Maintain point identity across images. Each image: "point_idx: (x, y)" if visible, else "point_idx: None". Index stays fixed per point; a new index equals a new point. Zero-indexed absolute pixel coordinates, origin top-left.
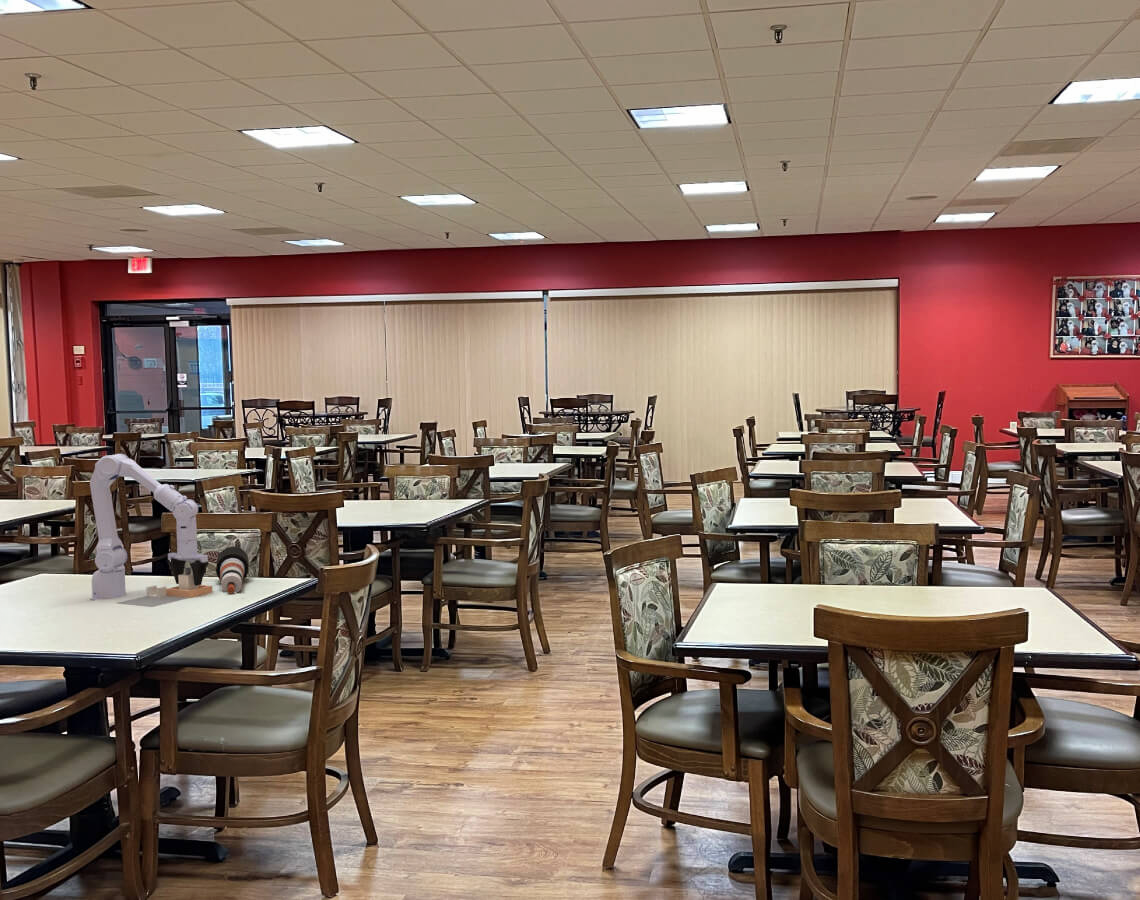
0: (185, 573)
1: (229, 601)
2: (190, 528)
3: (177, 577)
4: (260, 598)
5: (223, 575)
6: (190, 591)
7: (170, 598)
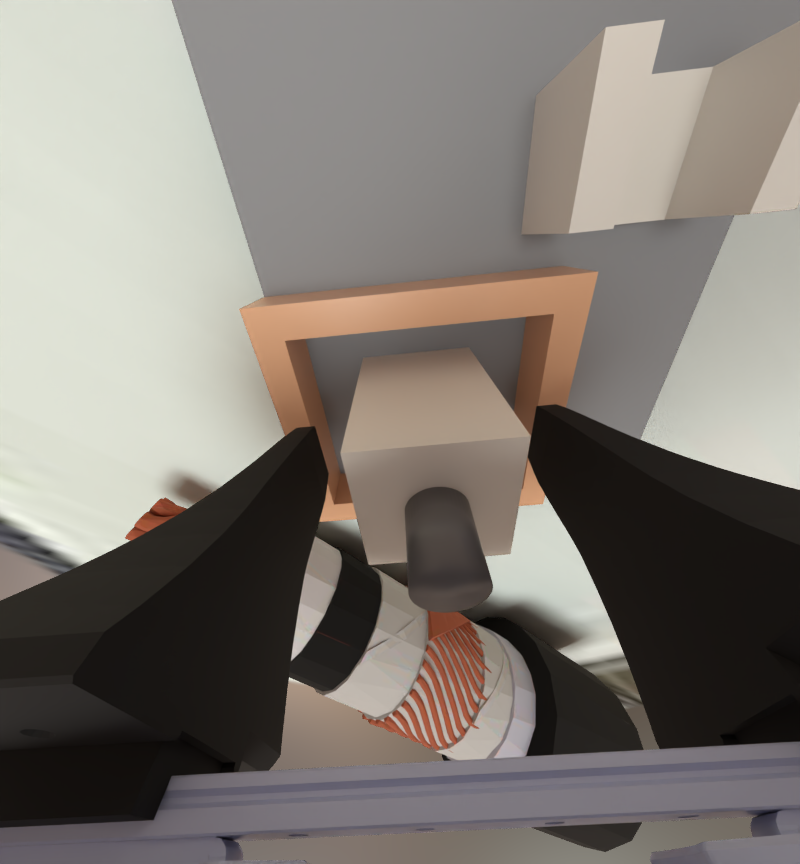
0: (454, 500)
1: (48, 415)
2: None
3: (573, 445)
4: (40, 526)
5: (329, 630)
6: (246, 320)
7: (394, 165)
